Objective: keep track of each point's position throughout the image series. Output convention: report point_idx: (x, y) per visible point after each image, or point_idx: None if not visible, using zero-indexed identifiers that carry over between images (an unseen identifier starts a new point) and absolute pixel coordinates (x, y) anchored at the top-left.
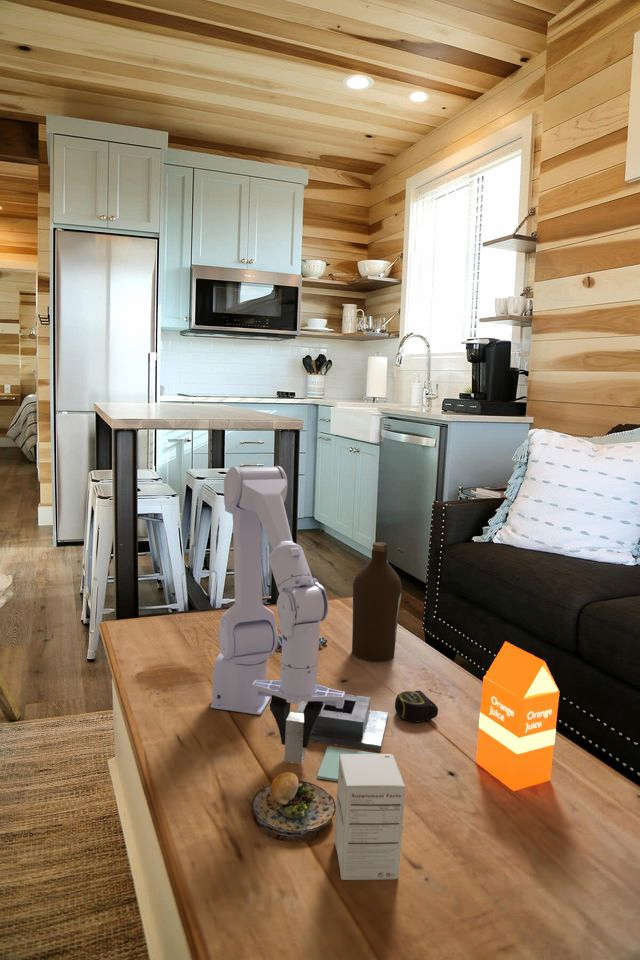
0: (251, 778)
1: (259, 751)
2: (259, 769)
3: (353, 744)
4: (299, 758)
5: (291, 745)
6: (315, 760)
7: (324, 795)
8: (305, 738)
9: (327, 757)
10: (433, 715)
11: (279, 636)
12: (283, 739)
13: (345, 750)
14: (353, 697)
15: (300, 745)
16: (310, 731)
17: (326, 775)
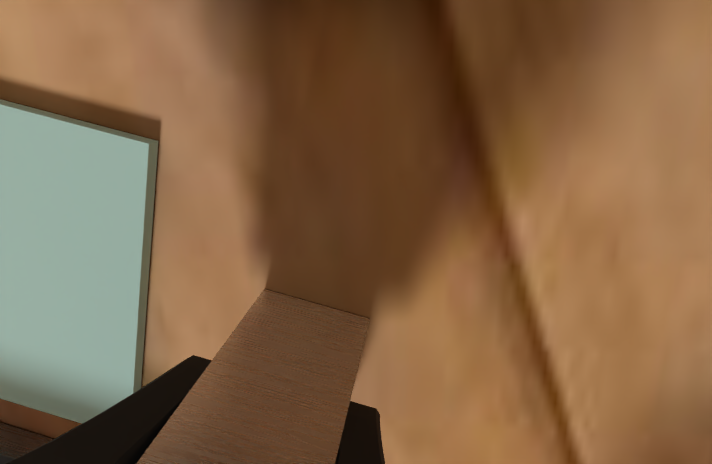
0: (607, 128)
1: (521, 427)
2: (536, 240)
3: (5, 440)
4: (265, 311)
5: (300, 380)
6: (189, 327)
7: None
8: (154, 398)
9: (116, 337)
10: None
11: None
12: (359, 430)
13: (36, 395)
14: None
15: (226, 367)
16: (56, 440)
17: (93, 147)
